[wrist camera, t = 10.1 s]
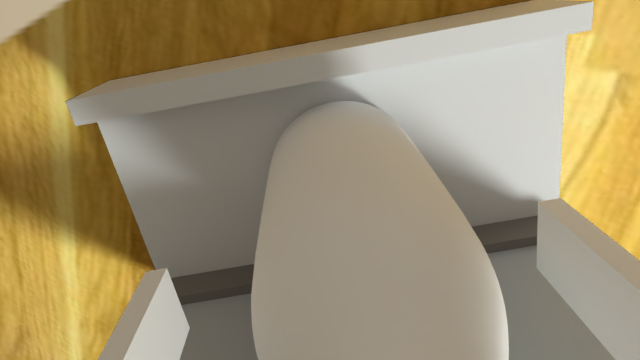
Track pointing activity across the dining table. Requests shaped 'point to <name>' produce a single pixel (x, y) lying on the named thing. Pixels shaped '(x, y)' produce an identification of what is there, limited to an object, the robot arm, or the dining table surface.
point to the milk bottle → (367, 250)
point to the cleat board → (376, 90)
